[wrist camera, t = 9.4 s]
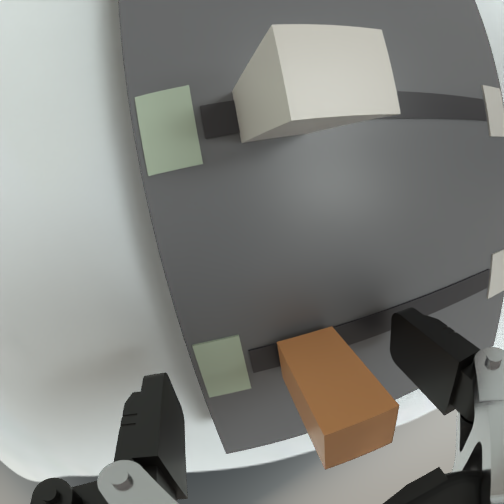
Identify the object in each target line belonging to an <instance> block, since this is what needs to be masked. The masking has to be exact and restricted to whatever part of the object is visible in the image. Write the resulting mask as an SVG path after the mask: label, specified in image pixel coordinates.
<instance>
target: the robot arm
mask: <svg viewBox="0 0 504 504" xmlns="http://www.w3.org/2000/svg"><path fill="white" fill-rule="evenodd" d="M390 354H391V357H392V360H393V361H394V363H395V364H396V365H397V366H398V367H399V368H400V369H401V370H402V371H403V372H404V373H405V374H406V375H407V377H408V378H409V379H410V380H411V381H412V382H413V383H414V384H415V385H416V386H417V387H418V388H419V389H420V390H421V391H422V392H423V393H424V394H425V395H426V396H427V398H428V399H429V400H430V401H431V402H432V403H433V404H434V405H435V406H436V407H437V408H438V409H439V410H440V411H441V412H442V413H443V415H446V414H448V413H449V412H451V411H453V410H454V409H456V410H457V411H458V415H457V423H456V453H455V462H454V466H453V469H452V472H451V473H447V474H444V473H443V472H442V470H441V469H440V468H439V467H438V468H436V469H435V470H433V471H431V472H429V473H428V474H426V475H424V476H422V477H421V478H419V479H417V480H415V481H413V482H411V483H409V484H407V485H406V486H405V487H404V488H403V489H401V490H400V491H399V492H397V493H396V494H395V495H394V496H392V497H391V498H390V499H388V500H387V501H386V502H385V503H383V504H504V350H502V349H500V348H495V347H488V348H484V349H481V350H480V349H479V348H478V347H476V346H475V345H474V344H472V343H471V342H470V341H468V340H467V339H465V338H464V337H463V336H461V335H460V334H458V333H457V332H456V333H455V331H454V330H453V329H451V328H450V327H448V326H447V325H446V324H444V323H443V322H442V321H440V320H439V319H436V318H433V317H430V316H427V315H423V314H422V313H420V312H419V311H418V310H416V309H415V308H413V307H410V308H407V309H404V310H401V311H399V312H396V313H394V314H393V315H392V318H391V336H390ZM187 498H188V496H187V479H186V458H185V427H184V416H183V411H182V408H181V405H180V403H179V400H178V398H177V396H176V393H175V391H174V389H173V386H172V384H171V381H170V379H169V377H168V375H167V373H160V374H154V375H148V376H144V378H143V383H142V388H141V392H134V393H132V394H131V396H130V397H129V398H128V400H127V401H126V403H125V405H124V410H123V417H122V420H121V427H120V430H119V435H118V441H117V446H116V452H115V458H114V462H113V463H111V464H109V465H107V466H106V467H105V468H104V469H103V470H102V471H101V472H100V474H99V476H98V480H97V481H94V482H91V483H87V484H83V485H79V486H75V487H71V486H70V485H69V484H68V483H67V482H66V481H64V480H62V479H59V478H49V479H46V480H44V481H42V482H41V483H39V484H38V485H37V487H36V488H35V490H34V492H33V495H32V499H31V503H30V504H179V503H177V499H187Z"/></svg>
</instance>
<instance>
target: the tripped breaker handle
mask: <svg viewBox="0 0 504 504" xmlns="http://www.w3.org/2000/svg"><path fill="white" fill-rule="evenodd" d="M277 347H278V353H279V359H280V365H281V371H282V377H283V380H284V382H285V384H286V386H287V388H288V391H289V393H290V395H291V397H292V399H293V402H294V404H295V406H296V408H297V410H298V413H299V415H300V417H301V419H302V421H303V423H304V426H305V428H306V430H307V432H308V434H309V436H310V439H311V441H312V443H313V445H314V447H315V449H316V451H317V453H318V456H319V458H320V460H321V462H322V464H323V466H324V468H325V469H328V468H331V467H334V466H337V465H339V464H342V463H345V462H347V461H350V460H352V459H355V458H357V457H360V456H362V455H365V454H367V453H370V452H372V451H374V450H376V449H378V448H381V447H383V446H385V445H388V444H390V443H392V440H393V435H394V431H395V426H396V420H397V415H398V409H399V404H398V403H397V402H396V401H395V400H394V399H393V397H392V396H391V395H390V394H389V393H388V391H387V390H386V389H385V388H384V387H383V386H382V384H381V383H380V382H379V381H378V380H377V378H376V377H375V376H374V375H373V374H372V373H371V371H370V370H369V369H368V368H367V367H366V365H365V364H364V363H363V362H362V361H361V360H360V358H359V357H358V356H357V355H356V354H355V353H354V351H353V350H352V349H351V348H350V347H349V346H348V344H347V343H346V342H345V341H344V340H343V339H342V337H341V336H340V335H339V334H338V333H337V332H336V330H335V329H334V328H333V327H332V326H331V327H328V328H324V329H321V330H317V331H314V332H311V333H307V334H304V335H300V336H296V337H293V338H289V339H286V340H282V341H278V342H277Z"/></svg>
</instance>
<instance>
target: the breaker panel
mask: <svg viewBox="0 0 504 504" xmlns="http://www.w3.org/2000/svg"><path fill="white" fill-rule="evenodd" d="M119 15H120V29H121V40H122V50H123V60H124V68H125V77H126V84H127V92H128V99H129V106H130V112H131V119H132V125H133V131H134V137H135V142H136V148H137V154H138V159H139V164H140V169H141V174H142V179H143V184H144V189H145V194H146V198H147V203H148V207H149V212H150V216H151V220H152V225H153V229H154V233H155V237H156V241H157V245H158V249H159V253H160V257H161V261H162V264H163V268H164V272H165V276H166V279H167V283H168V286H169V290H170V293H171V297H172V300H173V304H174V307H175V311H176V314H177V317H178V321H179V324H180V327H181V330H182V333H183V337H184V340H185V343H186V346H187V349H188V352H189V355H190V358H191V361H192V364H193V367H194V370H195V373H196V376H197V378H198V381H199V384H200V387H201V390H202V392H203V395H204V398H205V401H206V403H207V406H208V409H209V411H210V414H211V417H212V419H213V422H214V424H215V427H216V429H217V432H218V434H219V437H220V439H221V442H222V444H223V447H224V449H225V452H226V454H228V453H233V452H238V451H242V450H247V449H251V448H255V447H260V446H264V445H268V444H272V443H275V442H279V441H283V440H286V439H290V438H293V437H297V436H300V435H303V434H306V433H308V432H307V430H306V428H305V426H304V423H303V421H302V419H301V417H300V415H299V413H298V410H297V408H296V406H295V404H294V402H293V399H292V397H291V395H290V393H289V391H288V388H287V386H286V384H285V382H284V380H283V377H282V371H281V365H280V359H279V353H278V347H277V342H278V341H282V340H286V339H289V338H293V337H296V336H300V335H304V334H307V333H311V332H314V331H317V330H321V329H324V328H328V327H331V326H332V327H333V328H334V329H335V330H336V332H337V333H338V334H339V335H340V336H341V337H342V339H343V340H344V341H345V342H346V343H347V344H348V346H349V347H350V348H351V349H352V350H353V351H354V353H355V354H356V355H357V356H358V357H359V358H360V360H361V361H362V362H363V363H364V364H365V365H366V367H367V368H368V369H369V370H370V371H371V373H372V374H373V375H374V376H375V377H376V378H377V380H378V381H379V382H380V383H381V384H382V386H383V387H384V388H385V389H386V390H387V391H388V393H389V394H390V395H391V396H392V397H393V399H394V400H396V399H398V398H400V397H402V396H404V395H406V394H408V393H411V392H413V391H415V390H417V389H419V388H418V387H417V386H416V385H415V384H414V383H413V382H412V381H411V380H410V379H409V378H408V377H407V375H406V374H405V373H404V372H403V371H402V370H401V369H400V368H399V367H398V366H397V365H396V364H395V363H394V361H393V360H392V357H391V354H390V336H391V318H392V315H393V314H394V313H396V312H399V311H401V310H404V309H407V308H410V307H413V308H415V309H416V310H418V311H419V312H420V313H422V314H423V315H427V316H430V317H433V318H436V319H439V320H440V321H442V322H443V323H444V324H446V325H447V326H448V327H450V328H451V329H453V330H454V331H455V333H456V332H457V333H458V334H460V335H461V336H463V337H464V338H465V339H467V340H468V341H470V342H471V343H472V344H474V345H475V346H476V347H478V348H479V349H480V350H481V349H484V348H488V347H492V346H493V345H494V341H495V337H496V332H497V328H498V323H499V318H500V313H501V308H502V302H503V297H504V105H503V99H502V94H501V88H500V84H499V79H498V74H497V70H496V66H495V62H494V58H493V54H492V51H491V47H490V44H489V40H488V37H487V34H486V31H485V27H484V24H483V22H482V19H481V16H480V13H479V10H478V8H477V5H476V2H475V0H119Z"/></svg>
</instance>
